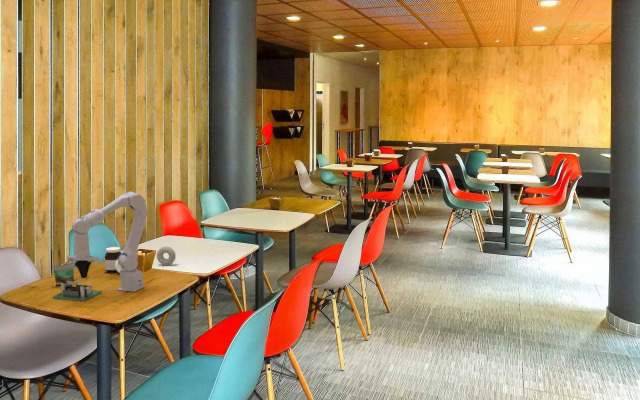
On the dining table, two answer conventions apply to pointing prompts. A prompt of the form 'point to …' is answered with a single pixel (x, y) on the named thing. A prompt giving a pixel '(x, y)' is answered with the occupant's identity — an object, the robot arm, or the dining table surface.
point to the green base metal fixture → (76, 292)
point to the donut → (162, 259)
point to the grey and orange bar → (77, 281)
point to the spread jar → (112, 259)
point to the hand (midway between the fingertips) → (84, 277)
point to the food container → (64, 272)
